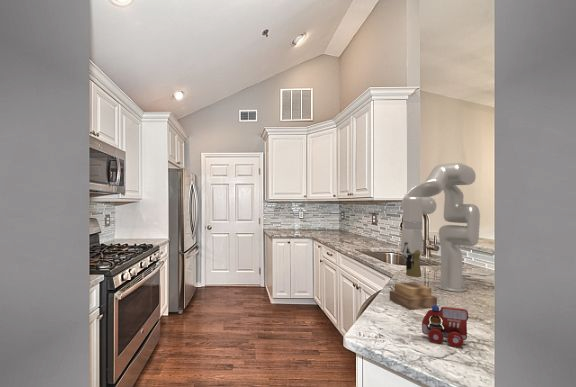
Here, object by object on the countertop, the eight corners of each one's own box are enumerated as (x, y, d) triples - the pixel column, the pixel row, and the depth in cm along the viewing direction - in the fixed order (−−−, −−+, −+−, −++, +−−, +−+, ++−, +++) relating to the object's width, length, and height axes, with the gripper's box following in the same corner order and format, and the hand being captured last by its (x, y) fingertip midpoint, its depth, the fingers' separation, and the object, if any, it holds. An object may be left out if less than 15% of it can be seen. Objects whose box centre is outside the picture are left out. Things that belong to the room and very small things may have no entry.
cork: (420, 274, 131) (421, 248, 131) (422, 277, 125) (422, 250, 126) (405, 273, 133) (405, 247, 133) (406, 276, 127) (406, 249, 128)
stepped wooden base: (414, 298, 137) (414, 281, 137) (436, 307, 124) (436, 288, 125) (389, 300, 133) (389, 282, 133) (409, 310, 121) (409, 290, 121)
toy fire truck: (422, 332, 99) (422, 299, 99) (467, 341, 93) (467, 306, 94) (421, 341, 93) (421, 305, 93) (469, 350, 87) (469, 312, 87)
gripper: (413, 225, 138) (413, 266, 137) (393, 225, 128) (393, 270, 127) (430, 226, 133) (430, 269, 132) (411, 227, 122) (410, 274, 121)
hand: (412, 269), depth 129 cm, fingers closed on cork, 2 cm apart
